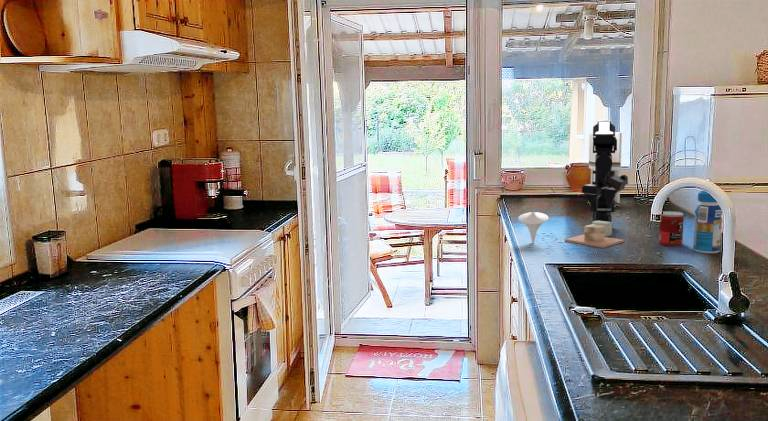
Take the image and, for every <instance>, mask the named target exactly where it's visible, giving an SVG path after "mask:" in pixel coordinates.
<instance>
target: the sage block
mask: <svg viewBox="0 0 768 421" xmlns="http://www.w3.org/2000/svg"><path fill="white" fill-rule="evenodd" d="M591 224H594V225H601V226H605V230H604V237H610V236H612V235H613V226H612V225H613V221H612V222H607V221H599V220H598V221H594V222H593V221H591Z"/></svg>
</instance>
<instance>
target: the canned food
mask: <svg viewBox="0 0 768 421" xmlns="http://www.w3.org/2000/svg"><path fill="white" fill-rule="evenodd" d="M662 212H663V214H662V221H661V222H659V221H658V222H659V226H658V227H659V228H658V243H659V244H660V245H662V246H668V247H679V246H682V244H683V238H684V236H683V235H684V218H685V216H684V212H679V211H670V210H669V211H667V210H666V211H662Z"/></svg>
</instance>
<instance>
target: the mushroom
mask: <svg viewBox="0 0 768 421" xmlns="http://www.w3.org/2000/svg"><path fill="white" fill-rule="evenodd" d="M517 219H518V221H519V222H520V223H522V224H523V225H525V227H527V229H528V232H529V235H530V239H531V243H533V244H535V240H536V235H537V232H538V230H539V228H540V226H542V224H544V223H546V222H548V221H549V216H548V215H547V214H546V213H542V212H537V211H536V212H534V210H532V212H531V211H530V212H526V213H525V212H524V213H522V214H520V215H519V216H518V218H517Z"/></svg>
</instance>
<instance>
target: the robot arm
mask: <svg viewBox="0 0 768 421" xmlns="http://www.w3.org/2000/svg"><path fill="white" fill-rule="evenodd" d="M592 132H593V153H597V154H596V155H595V170H594V171H593V174H595V181H594V182H592V184H591V183H588V184H583V185H582V186H581V194H583V195H584V196H585V197H586V199H587V202H588V201H589V203H590V205H589V206H590V212H591V213H592V222H594V221H598V220H599V221H607V222H612V223H613V220H612V218H613V217H612V213H615V208H616V207H615V200H614V198H615V196H616V194H617V193H618V192H619V191H620V192H621V191H622V190H625V189H626V188H625V187H626V185H629V178H628V175H627V174H622V175H621V174H620V176H616V175H615V172H614V170H612V155H611V153H615V151H617V139H616V137H615V132H616V126H615V125H614V124H613V123H612V120H610V119H599V120H597V123H596V124H595V125H593V127H592ZM594 146H595V149H596V150H594ZM613 146H614V150H612V149H613ZM612 227H614V226H613V224H612Z"/></svg>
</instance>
